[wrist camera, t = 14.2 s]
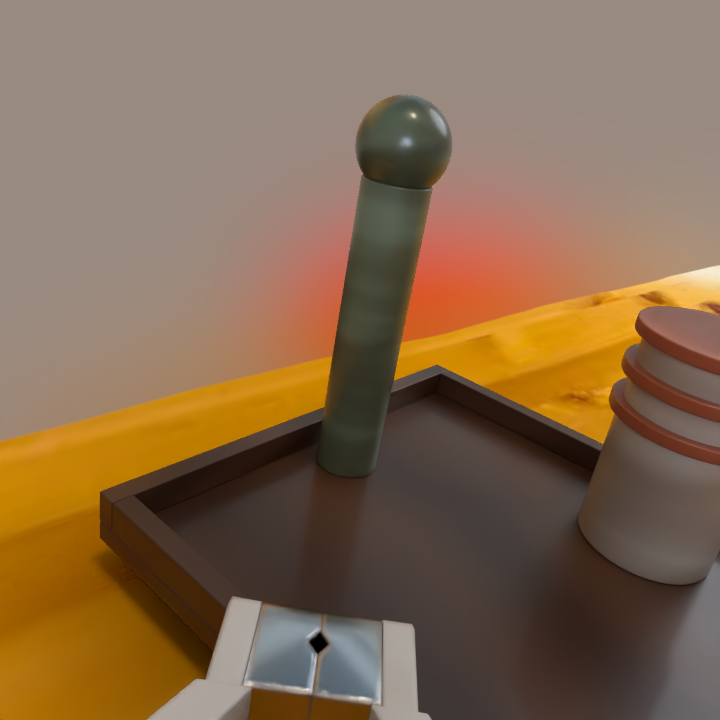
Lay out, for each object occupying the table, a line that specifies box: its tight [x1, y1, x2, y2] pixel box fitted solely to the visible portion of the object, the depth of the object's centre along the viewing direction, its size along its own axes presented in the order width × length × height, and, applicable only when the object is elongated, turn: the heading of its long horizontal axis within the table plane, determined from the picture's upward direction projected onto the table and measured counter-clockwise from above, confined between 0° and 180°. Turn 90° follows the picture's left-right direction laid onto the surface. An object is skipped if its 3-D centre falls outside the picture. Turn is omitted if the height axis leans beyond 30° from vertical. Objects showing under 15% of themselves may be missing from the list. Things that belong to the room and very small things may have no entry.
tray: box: [100, 95, 720, 720], centre depth 22 cm, size 20×20×16 cm
